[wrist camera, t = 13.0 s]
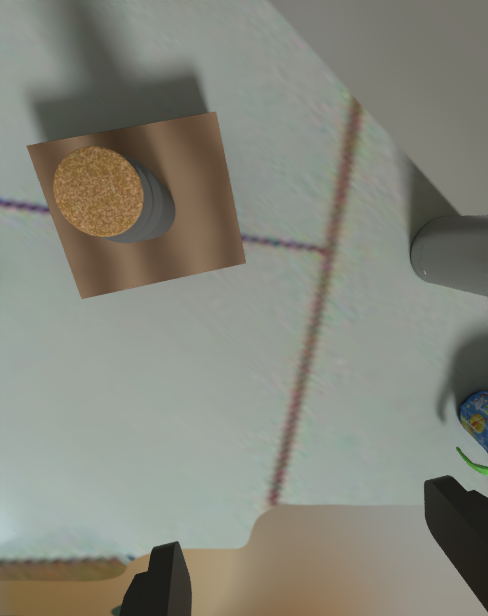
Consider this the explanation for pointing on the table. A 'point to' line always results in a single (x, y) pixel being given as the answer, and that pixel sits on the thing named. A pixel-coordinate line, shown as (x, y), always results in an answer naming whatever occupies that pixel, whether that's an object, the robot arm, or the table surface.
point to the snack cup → (476, 424)
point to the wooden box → (184, 190)
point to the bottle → (112, 196)
